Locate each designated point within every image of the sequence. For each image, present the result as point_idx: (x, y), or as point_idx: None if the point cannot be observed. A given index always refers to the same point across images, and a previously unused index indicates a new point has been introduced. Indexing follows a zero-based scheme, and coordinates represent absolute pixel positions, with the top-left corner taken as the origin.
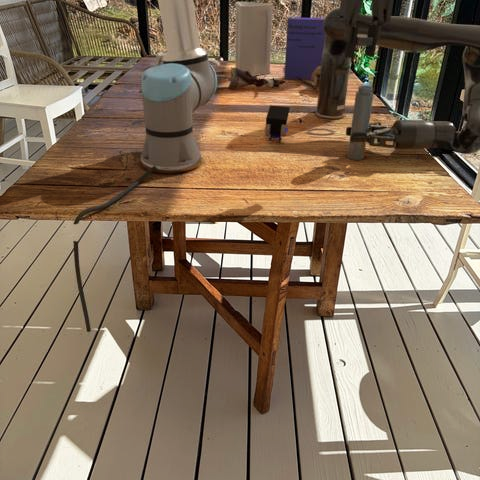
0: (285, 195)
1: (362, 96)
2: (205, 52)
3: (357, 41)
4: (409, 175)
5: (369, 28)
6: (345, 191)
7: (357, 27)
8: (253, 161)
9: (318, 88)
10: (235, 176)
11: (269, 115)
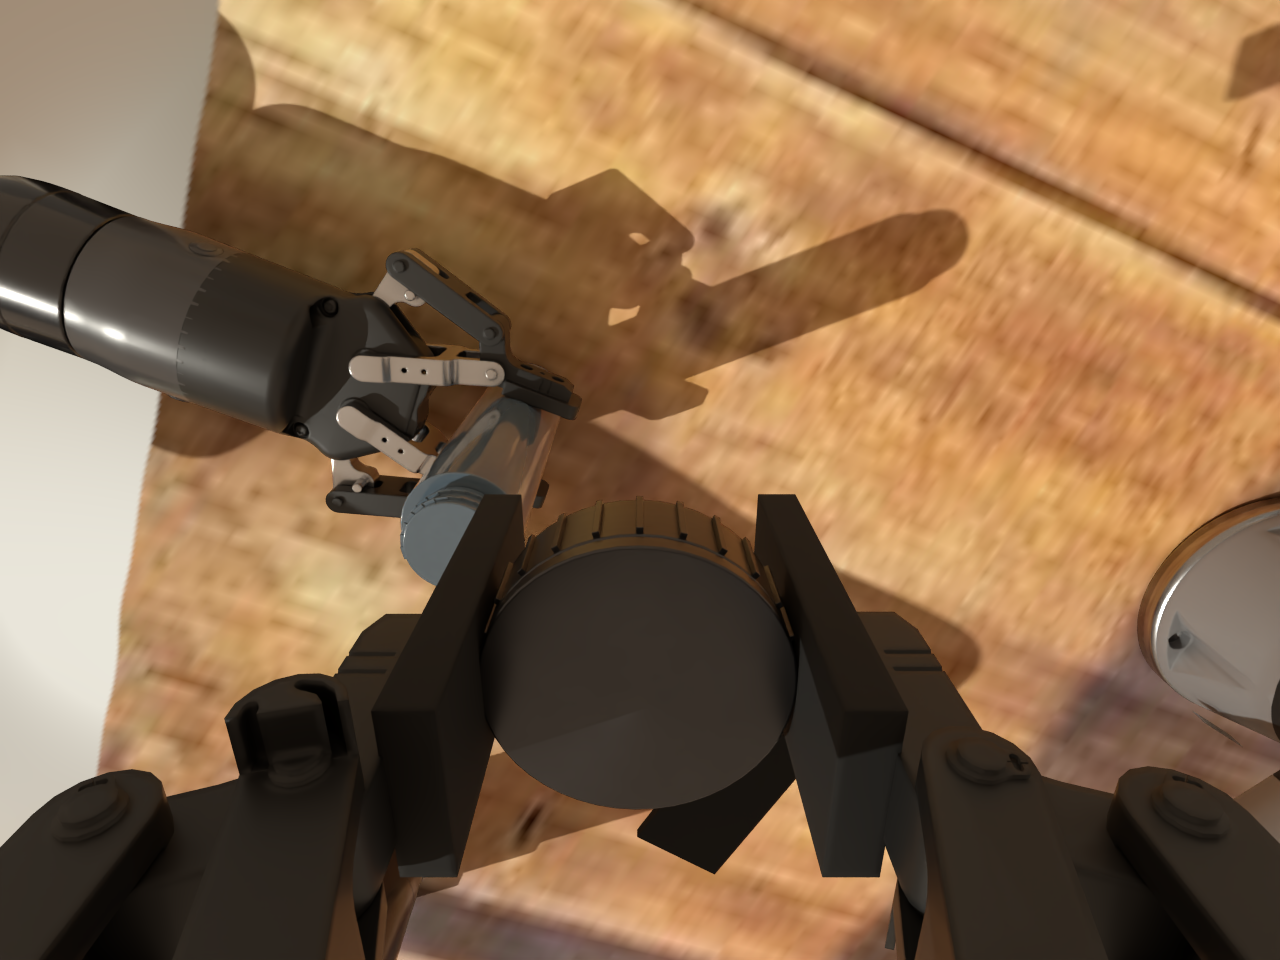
0: (1072, 131)
1: (506, 488)
2: None
3: (770, 583)
4: (400, 104)
5: (466, 810)
6: (806, 58)
7: (858, 705)
8: (965, 509)
9: None
10: (1125, 395)
11: (785, 775)
